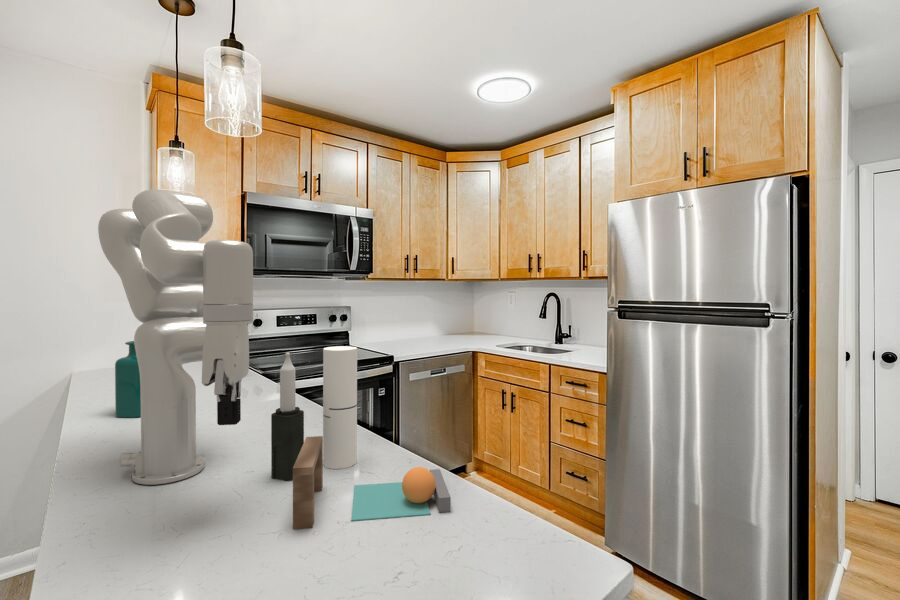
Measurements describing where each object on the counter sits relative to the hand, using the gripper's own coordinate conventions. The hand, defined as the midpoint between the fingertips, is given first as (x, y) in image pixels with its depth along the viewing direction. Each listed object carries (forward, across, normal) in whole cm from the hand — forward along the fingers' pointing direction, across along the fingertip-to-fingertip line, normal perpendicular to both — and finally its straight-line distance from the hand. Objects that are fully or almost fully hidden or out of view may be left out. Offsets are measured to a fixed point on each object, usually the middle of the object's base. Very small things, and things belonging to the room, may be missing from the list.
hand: (229, 423), depth 75 cm
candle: (+15, -14, +7) cm, 22 cm away
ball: (+12, +2, +32) cm, 34 cm away
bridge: (+15, 0, +13) cm, 20 cm away
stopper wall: (+15, 0, +36) cm, 39 cm away
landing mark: (+15, 0, +27) cm, 31 cm away
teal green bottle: (+15, -67, -45) cm, 82 cm away
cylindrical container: (+15, -19, +17) cm, 30 cm away
